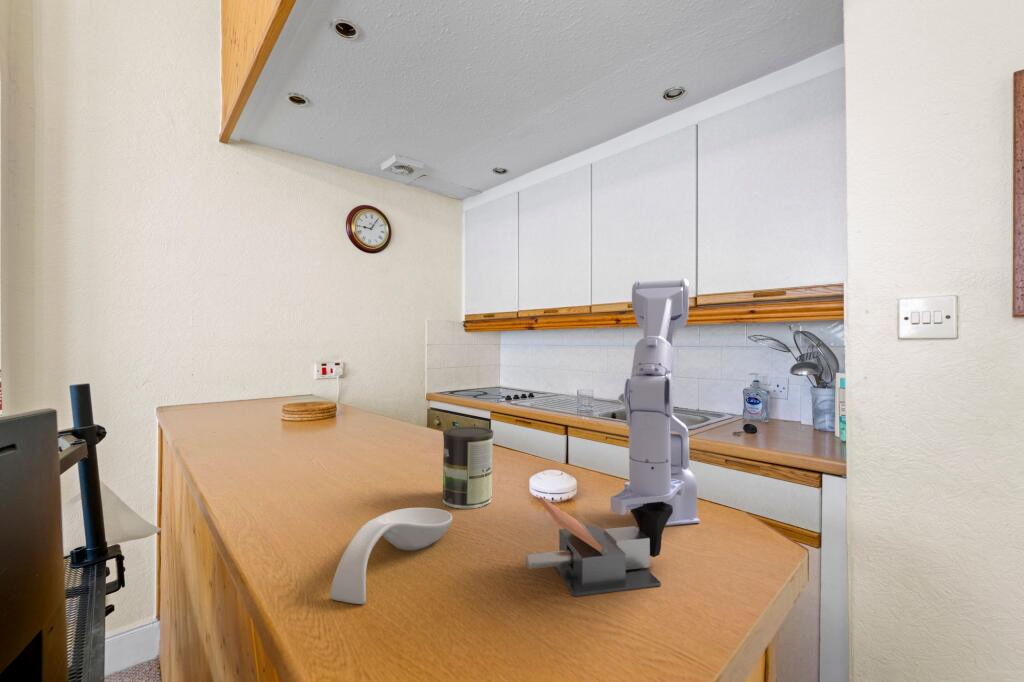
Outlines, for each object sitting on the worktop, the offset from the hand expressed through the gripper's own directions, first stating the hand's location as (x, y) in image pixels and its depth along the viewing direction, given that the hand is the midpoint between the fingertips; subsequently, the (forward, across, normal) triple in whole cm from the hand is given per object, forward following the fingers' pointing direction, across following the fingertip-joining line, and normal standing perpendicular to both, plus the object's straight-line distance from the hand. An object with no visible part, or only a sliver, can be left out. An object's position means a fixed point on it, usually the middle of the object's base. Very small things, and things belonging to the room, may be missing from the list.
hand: (650, 553), depth 60 cm
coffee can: (+2, +9, -38) cm, 39 cm away
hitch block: (+2, +7, -3) cm, 8 cm away
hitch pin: (+1, +9, -4) cm, 10 cm away
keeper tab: (-5, +11, -5) cm, 13 cm away
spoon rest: (+2, +29, -22) cm, 37 cm away
